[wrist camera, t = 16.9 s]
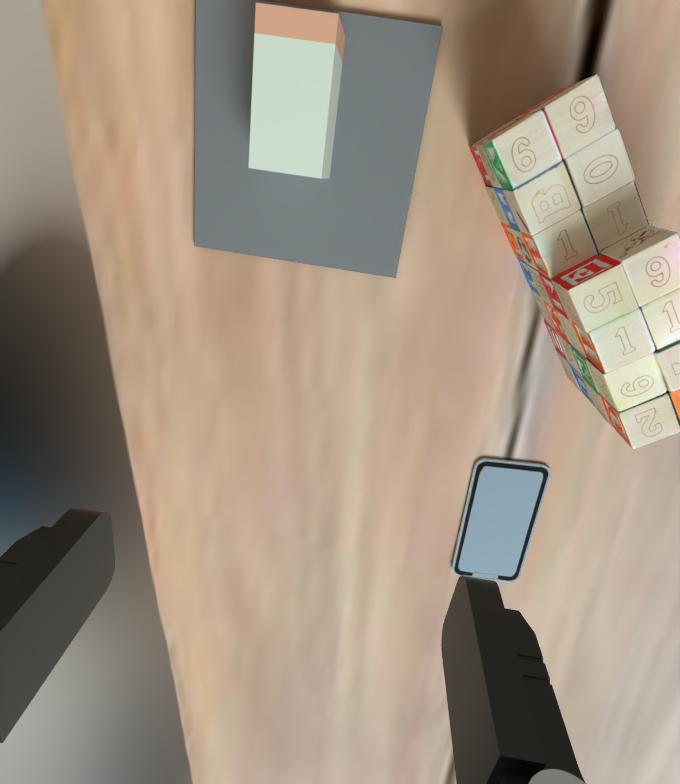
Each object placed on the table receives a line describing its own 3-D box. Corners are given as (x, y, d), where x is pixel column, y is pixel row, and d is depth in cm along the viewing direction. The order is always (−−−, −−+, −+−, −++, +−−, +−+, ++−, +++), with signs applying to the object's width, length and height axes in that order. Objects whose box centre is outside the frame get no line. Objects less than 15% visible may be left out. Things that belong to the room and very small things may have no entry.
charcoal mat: (442, 27, 32) (442, 26, 32) (395, 276, 39) (395, 277, 39) (197, -8, 33) (195, -10, 32) (195, 245, 40) (194, 246, 39)
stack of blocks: (465, 147, 35) (501, 133, 24) (547, 95, 33) (628, 55, 22) (568, 379, 42) (634, 453, 31) (641, 347, 40) (739, 412, 29)
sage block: (329, 178, 36) (345, 36, 33) (321, 178, 32) (338, 13, 28) (265, 169, 36) (273, 26, 33) (248, 168, 32) (255, 2, 28)
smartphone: (553, 466, 45) (518, 583, 51) (551, 461, 46) (516, 577, 52) (475, 458, 45) (450, 575, 52) (474, 453, 46) (449, 569, 52)
